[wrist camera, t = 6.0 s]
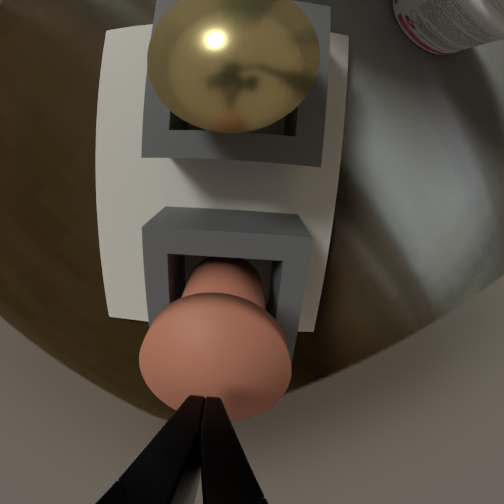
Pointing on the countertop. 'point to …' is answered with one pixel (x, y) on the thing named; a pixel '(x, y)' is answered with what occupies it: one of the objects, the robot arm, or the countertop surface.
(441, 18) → the pill bottle
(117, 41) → the board
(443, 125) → the countertop surface
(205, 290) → the pink plunger
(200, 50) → the brass plunger
